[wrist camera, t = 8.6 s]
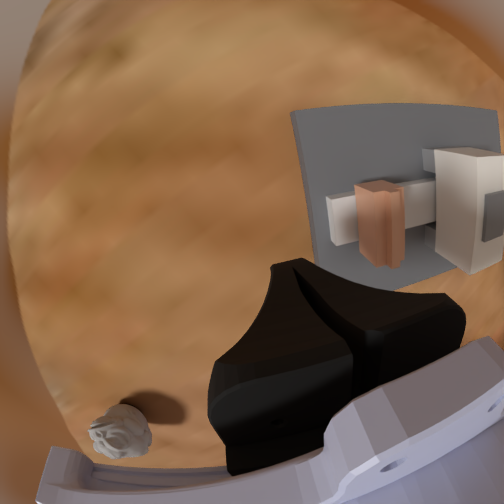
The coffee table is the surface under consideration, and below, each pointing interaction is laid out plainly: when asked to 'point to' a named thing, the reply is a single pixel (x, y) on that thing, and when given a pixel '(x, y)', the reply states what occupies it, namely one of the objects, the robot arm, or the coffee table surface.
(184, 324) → the coffee table surface
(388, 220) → the rail clip
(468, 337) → the coffee table surface
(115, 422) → the grey sculpted head
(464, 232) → the block
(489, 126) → the rail board
